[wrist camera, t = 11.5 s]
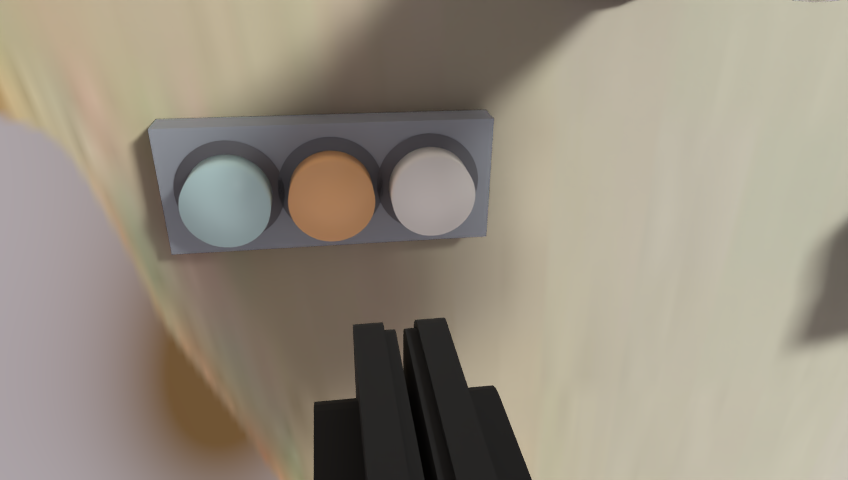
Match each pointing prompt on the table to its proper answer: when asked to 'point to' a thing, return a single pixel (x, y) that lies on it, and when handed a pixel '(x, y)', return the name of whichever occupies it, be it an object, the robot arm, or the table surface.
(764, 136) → the table surface
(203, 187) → the teal button
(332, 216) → the orange button
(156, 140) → the button panel
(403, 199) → the cream button
